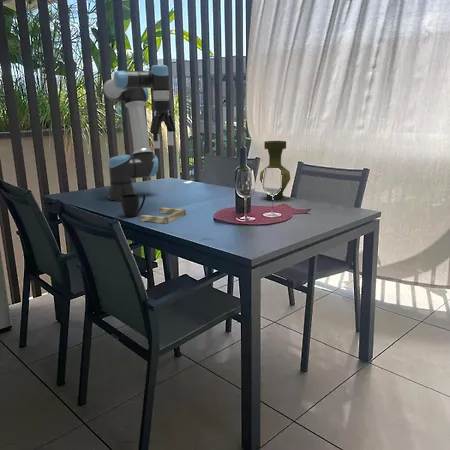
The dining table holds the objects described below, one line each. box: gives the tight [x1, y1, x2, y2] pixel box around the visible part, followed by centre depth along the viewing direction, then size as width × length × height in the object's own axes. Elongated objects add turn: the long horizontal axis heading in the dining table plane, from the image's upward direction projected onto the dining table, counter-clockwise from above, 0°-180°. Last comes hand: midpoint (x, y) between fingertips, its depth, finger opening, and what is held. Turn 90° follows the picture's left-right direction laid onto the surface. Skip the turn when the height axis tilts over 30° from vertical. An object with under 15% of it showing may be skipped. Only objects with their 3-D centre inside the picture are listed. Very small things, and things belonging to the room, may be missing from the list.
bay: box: [139, 206, 187, 225], centre depth 203 cm, size 14×17×2 cm
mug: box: [120, 193, 146, 218], centre depth 208 cm, size 8×12×10 cm
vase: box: [259, 140, 291, 201], centre depth 234 cm, size 16×16×30 cm
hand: (164, 146), depth 212 cm, fingers open, 13 cm apart
